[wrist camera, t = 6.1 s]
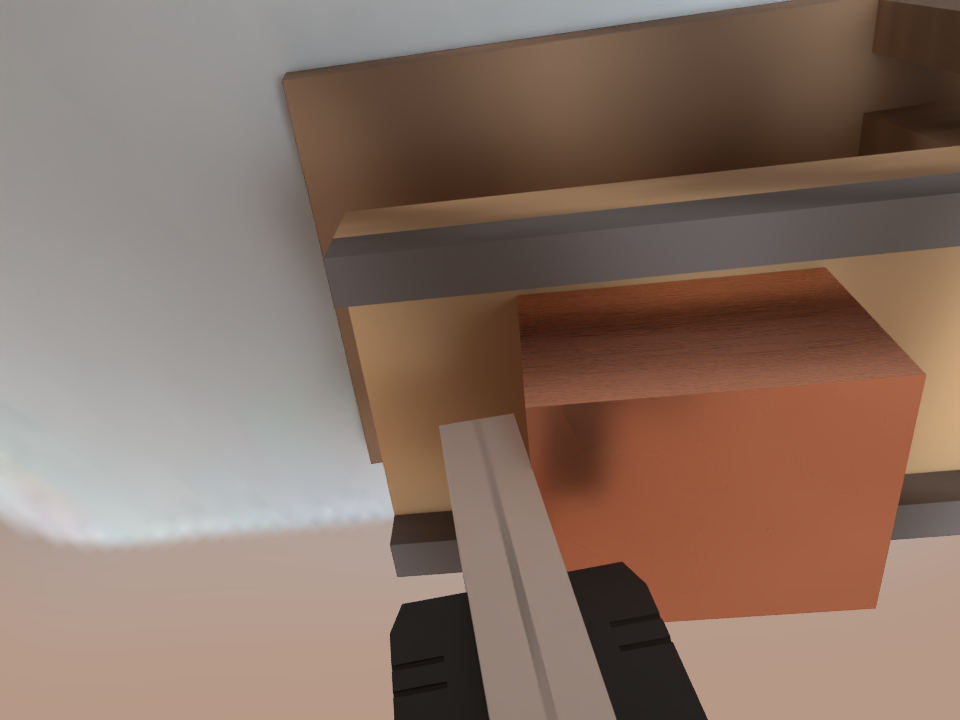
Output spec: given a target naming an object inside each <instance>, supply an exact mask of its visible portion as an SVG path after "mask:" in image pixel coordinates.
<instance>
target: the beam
mask: <svg viewBox="0 0 960 720" xmlns="http://www.w3.org/2000/svg"><path fill="white" fill-rule="evenodd" d="M323 261H324V265H325V269H326V274H327V278H328V282H329V286H330V291H331V295H332V299H333V304H334V308H343V307H348V309H349V313H350V318H351V322H352V326H353V331H354V335H355V340H356V344H357V349H358V353H359V358H360V362H361V367H362V371H363V376H364V380H365V385H366V389H367V394H368V398H369V402H370V407H371V411H372V416H373V420H374V425H375V429H376V434H377V438H378V443H379V447H380V452H381V456H382V461H383V465H384V469H385V474H386V478H387V483H388V487H389V492H390V496H391V501H392V505H393V510H394V514H395V517H394V523H393V530H392V536H391V542H390V547H391V552H392V556H393V560H394V564H395V569H396V572H397V577H405V576H418V575H431V574H445V573H457V572H462V566H461V560H460V555H459V549H458V543H457V537H456V531H455V524H454V518H453V512H452V506H451V499H450V493H449V487H448V480H447V474H446V468H445V461H444V455H443V449H442V443H441V436H440V430H439V426H440V425H446V424H452V423H458V422H464V421H470V420H476V419H482V418H488V417H494V416H500V415H506V414H512V413H514V416H515V419H516V422H517V425H518V428H519V431H520V434H521V437H522V440H523V443H524V446H525V449H526V452H527V455H528V458H529V461H530V452H529V441H528V431H527V420H526V409H525V395H524V382H523V368H522V355H521V341H520V328H519V314H518V300H517V295H528V294H539V293H550V292H561V291H572V290H583V289H594V288H605V287H616V286H626V285H637V284H648V283H659V282H670V281H681V280H692V279H703V278H714V277H725V276H736V275H747V274H758V273H769V272H780V271H791V270H802V269H813V268H824V267H826V268H827V269H828V270H829V272H830V273H831V274H832V275H833V276H834V277H835V278H836V279H837V280H838V281H839V282H840V283H841V284H842V285H843V286H844V287H845V289H846V290H847V291H848V292H849V293H850V294H851V295H852V296H853V297H854V298H855V299H856V300H857V301H858V302H859V303H860V305H861V306H862V307H863V308H864V309H865V310H866V311H867V312H868V313H869V314H870V315H871V316H872V317H873V318H874V319H875V320H876V322H877V323H878V324H879V325H880V326H881V327H882V328H883V329H884V330H885V331H886V332H887V333H888V334H889V335H890V336H891V338H892V339H893V340H894V341H895V342H896V343H897V344H898V345H899V346H900V347H901V348H902V349H903V350H904V351H905V352H906V353H907V355H908V356H909V357H910V358H911V359H912V360H913V361H914V362H915V363H916V364H917V365H918V366H919V367H920V368H921V369H922V371H923V372H924V373H925V374H926V379H925V384H924V389H923V393H922V398H921V402H920V407H919V412H918V416H917V421H916V425H915V430H914V435H913V439H912V444H911V448H910V453H909V458H908V462H907V467H906V471H905V476H904V481H903V485H902V490H901V494H900V499H899V504H898V508H897V513H896V517H895V522H894V527H893V531H892V536H891V540H896V539H897V540H898V539H909V538H924V537H937V536H951V535H960V146H952V147H943V148H933V149H924V150H915V151H905V152H896V153H887V154H878V155H868V156H859V157H850V158H841V159H831V160H822V161H813V162H803V163H794V164H785V165H776V166H766V167H757V168H748V169H739V170H729V171H720V172H711V173H701V174H692V175H683V176H674V177H664V178H655V179H646V180H637V181H627V182H618V183H609V184H600V185H590V186H581V187H572V188H562V189H553V190H544V191H535V192H525V193H516V194H507V195H498V196H488V197H479V198H470V199H460V200H451V201H442V202H433V203H423V204H414V205H405V206H396V207H386V208H377V209H368V210H358V211H349V212H345V214H344V216H343V218H342V220H341V222H340V224H339V227H338V229H337V231H336V233H335V235H334V237H333V239H332V241H331V243H330V245H329V248H328V250H327V252H326V254H325V256H324V258H323ZM530 464H531V463H530Z"/></svg>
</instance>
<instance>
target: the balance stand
mask: <svg viewBox="0 0 960 720" xmlns="http://www.w3.org/2000/svg"><path fill="white" fill-rule="evenodd" d="M282 84H283V88H284V92H285V97H286V101H287V105H288V110H289V114H290V118H291V122H292V127H293V131H294V135H295V140H296V144H297V148H298V152H299V157H300V161H301V165H302V169H303V174H304V178H305V182H306V187H307V191H308V195H309V199H310V204H311V208H312V212H313V217H314V221H315V225H316V229H317V234H318V238H319V242H320V247H321V251H322V255H323V258H324V256H325V254H326V252H327V250H328V248H329V245H330V243H331V241H332V239H333V237H334V235H335V233H336V231H337V229H338V227H339V224H340V222H341V220H342V218H343V216H344V214H345V212H349V211H358V210H368V209H377V208H386V207H396V206H405V205H414V204H423V203H433V202H442V201H451V200H460V199H470V198H479V197H488V196H498V195H507V194H516V193H525V192H535V191H544V190H553V189H562V188H572V187H581V186H590V185H600V184H609V183H618V182H627V181H637V180H646V179H655V178H664V177H674V176H683V175H692V174H701V173H711V172H720V171H729V170H739V169H748V168H757V167H766V166H776V165H785V164H794V163H803V162H813V161H822V160H831V159H841V158H850V157H859V156H868V155H878V154H887V153H896V152H905V151H915V150H924V149H933V148H943V147H952V146H960V0H793V1H786V2H779V3H772V4H765V5H758V6H751V7H744V8H737V9H730V10H723V11H716V12H709V13H702V14H695V15H688V16H681V17H674V18H667V19H660V20H653V21H646V22H639V23H632V24H625V25H618V26H611V27H604V28H597V29H590V30H583V31H576V32H569V33H562V34H555V35H548V36H541V37H534V38H527V39H520V40H513V41H506V42H499V43H493V44H486V45H479V46H472V47H465V48H458V49H451V50H444V51H437V52H430V53H423V54H416V55H409V56H402V57H395V58H388V59H381V60H374V61H367V62H360V63H353V64H346V65H339V66H332V67H325V68H318V69H311V70H304V71H297V72H290V73H286V74H285V76H284V78H283V80H282ZM335 311H336V315H337V319H338V324H339V328H340V332H341V336H342V341H343V345H344V349H345V354H346V358H347V362H348V366H349V371H350V375H351V379H352V384H353V388H354V392H355V396H356V401H357V405H358V409H359V413H360V418H361V422H362V426H363V431H364V435H365V439H366V443H367V448H368V452H369V456H370V461H371V464H374V463H380V462H383V461H382V456H381V452H380V447H379V443H378V438H377V434H376V429H375V425H374V420H373V416H372V411H371V407H370V402H369V398H368V394H367V389H366V385H365V380H364V376H363V371H362V367H361V362H360V358H359V353H358V349H357V344H356V340H355V335H354V331H353V326H352V322H351V318H350V313H349V309H348V307H343V308H335Z"/></svg>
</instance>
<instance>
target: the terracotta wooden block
mask: <svg viewBox="0 0 960 720" xmlns="http://www.w3.org/2000/svg"><path fill="white" fill-rule="evenodd" d="M517 300H518V314H519V328H520V341H521V355H522V368H523V382H524V395H525V409H526V420H527V431H528V441H529V452H530V463H531V469H532V470H533V473H534V476H535V479H536V482H537V485H538V488H539V490H540V493H541V496H542V499H543V502H544V505H545V508H546V511H547V514H548V517H549V520H550V523H551V526H552V529H553V532H554V535H555V538H556V541H557V544H558V547H559V550H560V553H561V556H562V559H563V562H564V565H565V568H566V571H567V572H569V571H574V570H579V569H585V568H590V567H596V566H601V565H606V564H612V563H617V562H623V563H624V564H625V565H627V566H628V567H629V568H630V569H631V570H632V571H633V572H634V573H635V574H636V575H637V576H639V577H640V578H641V579H642V580H643V581H644V582H645V583H646V584H647V586H648V588H649V590H650V593H651V595H652V597H653V599H654V602H655V604H656V606H657V608H658V610H659V613H660V617H661V618H662V619H663V621H664V622H672V621H688V620H703V619H719V618H735V617H750V616H765V615H781V614H796V613H812V612H828V611H842V610H858V609H873V608H876V605H877V600H878V596H879V591H880V586H881V582H882V577H883V573H884V568H885V563H886V558H887V554H888V549H889V545H890V540H891V536H892V531H893V527H894V522H895V517H896V513H897V508H898V504H899V499H900V494H901V490H902V485H903V481H904V476H905V471H906V467H907V462H908V458H909V453H910V448H911V444H912V439H913V435H914V430H915V425H916V421H917V416H918V412H919V407H920V402H921V398H922V393H923V389H924V384H925V379H926V374H925V373H924V372H923V371H922V369H921V368H920V367H919V366H918V365H917V364H916V363H915V362H914V361H913V360H912V359H911V358H910V357H909V356H908V355H907V353H906V352H905V351H904V350H903V349H902V348H901V347H900V346H899V345H898V344H897V343H896V342H895V341H894V340H893V339H892V338H891V336H890V335H889V334H888V333H887V332H886V331H885V330H884V329H883V328H882V327H881V326H880V325H879V324H878V323H877V322H876V320H875V319H874V318H873V317H872V316H871V315H870V314H869V313H868V312H867V311H866V310H865V309H864V308H863V307H862V306H861V305H860V303H859V302H858V301H857V300H856V299H855V298H854V297H853V296H852V295H851V294H850V293H849V292H848V291H847V290H846V289H845V287H844V286H843V285H842V284H841V283H840V282H839V281H838V280H837V279H836V278H835V277H834V276H833V275H832V274H831V273H830V272H829V270H828V269H827V268H826V267H824V268H813V269H802V270H791V271H780V272H769V273H758V274H747V275H736V276H725V277H714V278H703V279H692V280H681V281H670V282H659V283H648V284H637V285H626V286H616V287H605V288H594V289H583V290H572V291H561V292H550V293H539V294H528V295H517Z"/></svg>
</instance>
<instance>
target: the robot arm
mask: <svg viewBox="0 0 960 720" xmlns="http://www.w3.org/2000/svg"><path fill="white" fill-rule="evenodd" d="M439 430H440V436H441V443H442V449H443V455H444V461H445V468H446V474H447V480H448V487H449V493H450V499H451V506H452V512H453V518H454V524H455V531H456V537H457V543H458V549H459V555H460V560H461V566H462V572H463V578H464V583H465V589H466V592H465V593H460V594H455V595H449V596H444V597H438V598H433V599H428V600H423V601H417V602H412V603H406V604H402V606H401V608H400V611H399V613H398V616H397V618H396V621H395V623H394V625H393V628H392V630H391V633H390V646H391V663H392V682H393V694H394V698H393V702H394V720H708V719H707V717H706V715H705V712H704V710H703V708H702V706H701V704H700V701H699V699H698V697H697V695H696V692H695V690H694V688H693V686H692V683H691V681H690V679H689V677H688V675H687V672H686V670H685V668H684V666H683V664H682V661H681V659H680V657H679V655H678V652H677V650H676V648H675V646H674V644H673V642H671V639H670V635H669V633H668V630H667V628H666V626H665V624H664V621H663V619H662V618H661V617H660V613H659V610H658V608H657V606H656V604H655V602H654V599H653V597H652V595H651V593H650V590H649V588H648V586H647V584H646V583H645V582H644V581H643V580H642V579H641V578H640V577H639V576H637V575H636V574H635V573H634V572H633V571H632V570H631V569H630V568H629V567H628V566H627V565H625V564H624V563H623V562H617V563H612V564H606V565H601V566H596V567H590V568H585V569H579V570H574V571H569V572H567V571H566V568H565V565H564V562H563V559H562V556H561V553H560V550H559V547H558V544H557V541H556V538H555V535H554V532H553V529H552V526H551V523H550V520H549V517H548V514H547V511H546V508H545V505H544V502H543V499H542V496H541V493H540V490H539V488H538V485H537V482H536V479H535V476H534V473H533V470H532V469H531V464H530V461H529V458H528V455H527V452H526V449H525V446H524V443H523V440H522V437H521V434H520V431H519V428H518V425H517V422H516V419H515V416H514V413H512V414H506V415H500V416H494V417H488V418H482V419H476V420H470V421H464V422H458V423H452V424H446V425H440V426H439Z"/></svg>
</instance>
